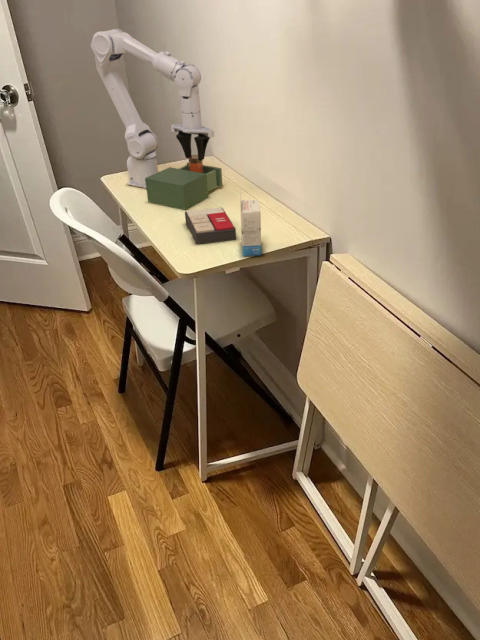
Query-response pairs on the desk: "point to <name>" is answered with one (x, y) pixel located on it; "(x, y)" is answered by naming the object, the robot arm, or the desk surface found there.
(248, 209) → the ink box
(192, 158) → the spice jar
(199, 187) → the cabinet
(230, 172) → the desk surface
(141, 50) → the robot arm
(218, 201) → the desk surface
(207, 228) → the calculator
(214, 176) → the drawer
